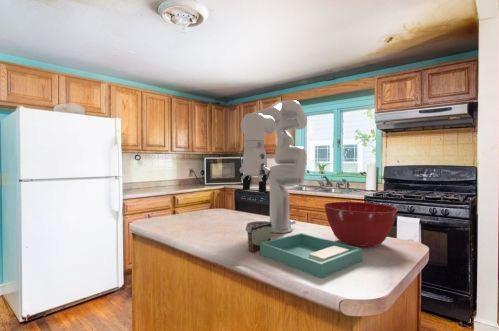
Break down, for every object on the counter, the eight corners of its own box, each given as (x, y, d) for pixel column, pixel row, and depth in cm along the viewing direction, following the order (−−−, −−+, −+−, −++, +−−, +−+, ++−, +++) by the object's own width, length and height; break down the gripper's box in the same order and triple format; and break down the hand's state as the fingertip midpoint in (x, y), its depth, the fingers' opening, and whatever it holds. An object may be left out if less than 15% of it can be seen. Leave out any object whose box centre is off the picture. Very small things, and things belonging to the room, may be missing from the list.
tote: (301, 245, 114) (301, 232, 114) (362, 263, 94) (362, 248, 94) (259, 257, 100) (260, 243, 100) (321, 281, 80) (321, 264, 80)
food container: (261, 244, 116) (261, 219, 115) (272, 247, 111) (272, 221, 111) (238, 250, 107) (238, 224, 107) (250, 254, 103) (250, 227, 102)
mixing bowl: (342, 231, 137) (342, 199, 137) (407, 243, 117) (407, 205, 117) (310, 243, 117) (310, 205, 116) (383, 260, 97) (383, 215, 97)
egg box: (334, 256, 97) (334, 245, 97) (350, 261, 93) (350, 249, 93) (307, 266, 88) (307, 253, 88) (324, 272, 84) (324, 259, 84)
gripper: (276, 145, 104) (276, 192, 104) (247, 147, 117) (247, 188, 118) (261, 145, 99) (261, 193, 100) (233, 146, 113) (233, 189, 113)
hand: (254, 190), depth 109 cm, fingers open, 9 cm apart
